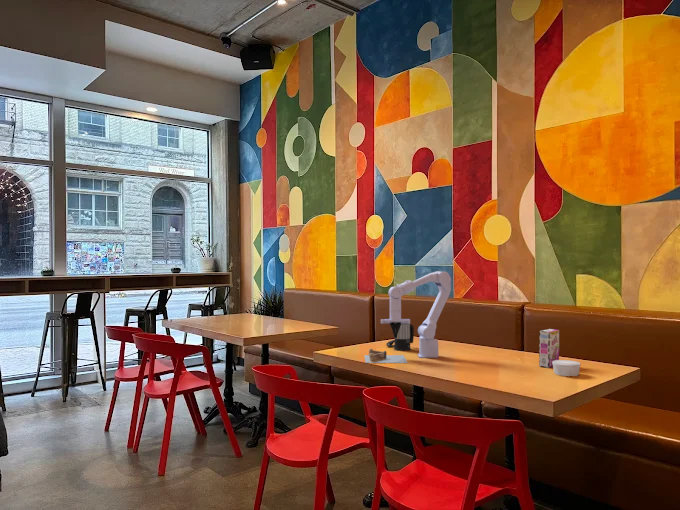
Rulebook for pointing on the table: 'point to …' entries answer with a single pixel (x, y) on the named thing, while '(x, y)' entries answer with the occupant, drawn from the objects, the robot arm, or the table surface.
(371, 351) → the fence fixed
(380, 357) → the fence swing
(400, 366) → the table surface
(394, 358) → the card
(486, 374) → the table surface
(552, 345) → the candy bar box
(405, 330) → the milk frother
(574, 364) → the ramekin
